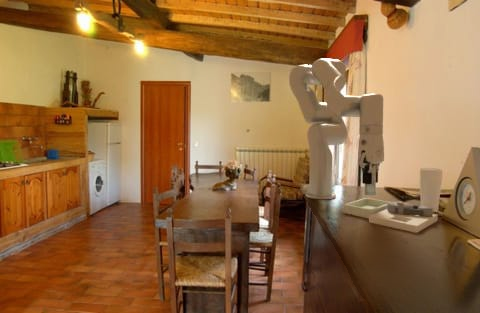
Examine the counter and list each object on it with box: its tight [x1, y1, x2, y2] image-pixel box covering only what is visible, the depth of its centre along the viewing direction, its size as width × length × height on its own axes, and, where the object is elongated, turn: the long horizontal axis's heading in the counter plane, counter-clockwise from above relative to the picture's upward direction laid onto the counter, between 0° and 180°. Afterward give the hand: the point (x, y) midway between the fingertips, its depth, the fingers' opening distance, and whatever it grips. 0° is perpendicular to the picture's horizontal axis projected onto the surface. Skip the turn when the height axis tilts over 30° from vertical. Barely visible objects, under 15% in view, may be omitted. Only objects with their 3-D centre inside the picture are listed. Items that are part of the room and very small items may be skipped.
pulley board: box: [368, 201, 439, 234], centre depth 101 cm, size 14×17×5 cm
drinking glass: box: [419, 167, 443, 213], centre depth 112 cm, size 7×7×15 cm
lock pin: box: [363, 161, 377, 196], centre depth 111 cm, size 5×5×13 cm
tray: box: [343, 197, 390, 219], centre depth 112 cm, size 10×15×3 cm
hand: (370, 182), depth 111 cm, fingers closed on lock pin, 3 cm apart
